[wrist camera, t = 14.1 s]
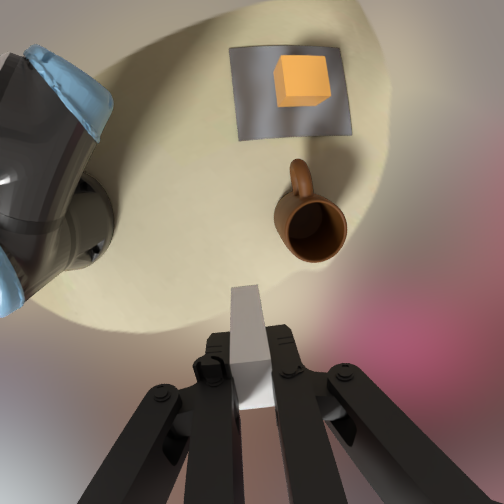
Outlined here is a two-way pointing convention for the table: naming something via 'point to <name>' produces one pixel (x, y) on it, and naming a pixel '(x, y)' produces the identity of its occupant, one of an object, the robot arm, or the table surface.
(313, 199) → the mug
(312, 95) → the orange foam cube
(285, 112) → the grey rubber mat
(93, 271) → the table surface
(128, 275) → the table surface
